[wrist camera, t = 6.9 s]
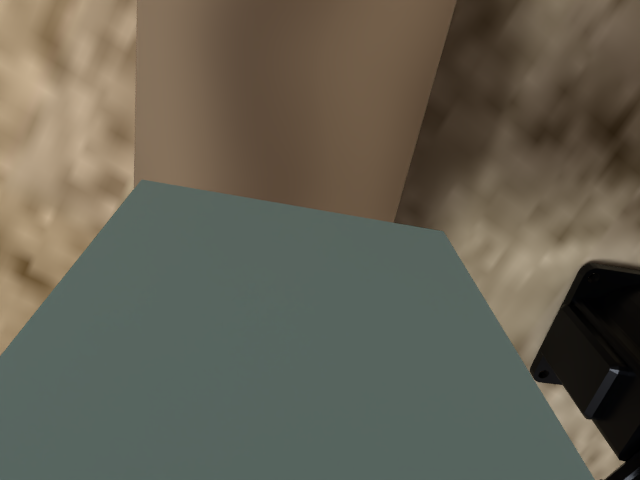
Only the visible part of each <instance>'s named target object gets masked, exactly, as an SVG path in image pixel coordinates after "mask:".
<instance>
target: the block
mask: <svg viewBox="0 0 640 480" xmlns="http://www.w3.org/2000/svg"><path fill="white" fill-rule="evenodd" d="M0 480H595V479H594V478H593V476H592V474H591V473H590V471H589V470H588V468H587V466H586V465H585V463H584V461H583V460H582V458H581V456H580V455H579V453H578V452H577V450H576V448H575V447H574V445H573V443H572V442H571V440H570V438H569V437H568V435H567V433H566V432H565V430H564V429H563V427H562V425H561V424H560V422H559V420H558V419H557V417H556V415H555V414H554V412H553V410H552V409H551V407H550V406H549V404H548V402H547V401H546V399H545V397H544V396H543V394H542V392H541V391H540V389H539V388H538V386H537V384H536V383H535V381H534V379H533V378H532V376H531V374H530V373H529V371H528V369H527V368H526V366H525V365H524V363H523V361H522V360H521V358H520V356H519V355H518V353H517V351H516V350H515V348H514V346H513V345H512V343H511V342H510V340H509V338H508V337H507V335H506V333H505V332H504V330H503V328H502V327H501V325H500V323H499V322H498V320H497V319H496V317H495V315H494V314H493V312H492V310H491V309H490V307H489V305H488V304H487V302H486V301H485V299H484V297H483V296H482V294H481V292H480V291H479V289H478V287H477V286H476V284H475V282H474V281H473V279H472V278H471V276H470V274H469V273H468V271H467V269H466V268H465V266H464V264H463V263H462V261H461V259H460V258H459V256H458V255H457V253H456V251H455V250H454V248H453V246H452V245H451V243H450V241H449V240H448V238H447V237H446V235H445V233H444V232H443V231H439V230H433V229H427V228H421V227H415V226H410V225H404V224H398V223H392V222H386V221H381V220H375V219H369V218H363V217H357V216H351V215H346V214H340V213H334V212H328V211H322V210H317V209H311V208H305V207H299V206H293V205H287V204H282V203H276V202H270V201H264V200H258V199H253V198H247V197H241V196H235V195H229V194H223V193H218V192H212V191H206V190H200V189H194V188H189V187H183V186H177V185H171V184H165V183H159V182H154V181H148V180H141V181H140V182H139V183H138V185H137V186H136V187H135V188H134V190H133V191H132V192H131V193H130V195H129V196H128V197H127V198H126V200H125V201H124V202H123V203H122V205H121V206H120V207H119V208H118V210H117V211H116V212H115V213H114V215H113V216H112V217H111V218H110V220H109V221H108V222H107V223H106V225H105V226H104V227H103V228H102V230H101V231H100V232H99V233H98V235H97V236H96V237H95V238H94V240H93V241H92V242H91V243H90V245H89V246H88V247H87V248H86V250H85V251H84V252H83V253H82V255H81V256H80V257H79V258H78V260H77V261H76V262H75V263H74V265H73V266H72V267H71V268H70V270H69V271H68V272H67V273H66V275H65V276H64V277H63V278H62V280H61V281H60V282H59V283H58V285H57V286H56V287H55V288H54V290H53V291H52V292H51V293H50V295H49V296H48V297H47V298H46V300H45V301H44V302H43V303H42V305H41V306H40V307H39V308H38V310H37V311H36V312H35V313H34V315H33V316H32V317H31V318H30V320H29V321H28V322H27V323H26V325H25V326H24V327H23V328H22V330H21V331H20V332H19V333H18V335H17V336H16V337H15V338H14V340H13V341H12V342H11V343H10V345H9V346H8V347H7V348H6V350H5V351H4V352H3V353H2V355H1V356H0Z"/></svg>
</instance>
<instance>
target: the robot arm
mask: <svg viewBox="0 0 640 480" xmlns="http://www.w3.org/2000/svg"><path fill="white" fill-rule="evenodd" d="M593 273H594V275H593V276H592V277H590V278H588V277H589V276H590V275H591V274H593ZM541 371H543V372H541ZM530 373H531V375H532V377H533V378H534V380H536V381H537V382H542V383H551V384H559V385H563V386H564V388H565V389H566V390H567V392H568V393H569V395H570V396H571V398H572V399H573V401H574V402H575V404H576V405H577V407H578V408H579V410H580V411H581V413H582V414H583V416H584V417H585V418H586V419H592V421H593V422H594V423H595V425H596V426H597V428H598V429H599V431H600V432H601V434H602V435H603V437H604V438H605V440H606V441H607V442H608V444H609V445H610V447H611V448H612V450H613V451H614V453H615V454H616V456H617V457H618V458H619V460H621V461H626V462H625V463H624V464H622V465H621V466H620V467H619V468H618V469H616V470H615V471H614V472H613V473H612V474H610V475H609V476H608V477H607V478H606V479H604V480H640V270H633V269H626V268H620V267H613V266H607V265H600V264H587V265H585V266H583V267H582V268H581V269H580V270H579V272H578V274H577V276H576V278H575V280H574V282H573V284H572V286H571V288H570V290H569V292H568V294H567V296H566V298H565V300H564V302H563V304H562V306H561V308H560V310H559V312H558V314H557V316H556V318H555V320H554V322H553V324H552V326H551V328H550V330H549V332H548V334H547V336H546V338H545V340H544V342H543V344H542V346H541V348H540V350H539V352H538V354H537V356H536V358H535V360H534V362H533V364H532V366H531V368H530ZM600 480H602V479H600Z"/></svg>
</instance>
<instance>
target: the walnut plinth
mask: <svg viewBox="0 0 640 480" xmlns="http://www.w3.org/2000/svg"><path fill="white" fill-rule="evenodd" d="M456 2H457V0H137V36H136V98H135V159H134V188H135V187H136V186H137V185H138V183H139V182H140V181H141V180H148V181H154V182H159V183H165V184H171V185H177V186H183V187H189V188H194V189H200V190H206V191H212V192H218V193H223V194H229V195H235V196H241V197H247V198H253V199H258V200H264V201H270V202H276V203H282V204H287V205H293V206H299V207H305V208H311V209H317V210H322V211H328V212H334V213H340V214H346V215H351V216H357V217H363V218H369V219H375V220H381V221H386V222H392V223H394V220H395V216H396V213H397V209H398V206H399V202H400V199H401V195H402V192H403V188H404V185H405V181H406V178H407V174H408V171H409V167H410V164H411V160H412V157H413V153H414V150H415V146H416V143H417V139H418V136H419V132H420V129H421V125H422V121H423V118H424V114H425V111H426V107H427V104H428V100H429V97H430V93H431V90H432V86H433V83H434V79H435V76H436V72H437V69H438V65H439V62H440V58H441V55H442V51H443V48H444V44H445V41H446V37H447V34H448V30H449V27H450V23H451V20H452V16H453V13H454V9H455V6H456Z"/></svg>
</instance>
